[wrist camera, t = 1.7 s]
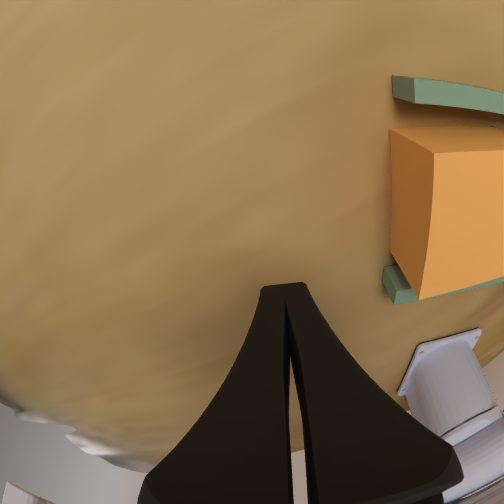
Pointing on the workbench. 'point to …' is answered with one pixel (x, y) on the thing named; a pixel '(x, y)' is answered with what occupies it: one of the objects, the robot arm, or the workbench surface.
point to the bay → (446, 96)
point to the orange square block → (447, 206)
